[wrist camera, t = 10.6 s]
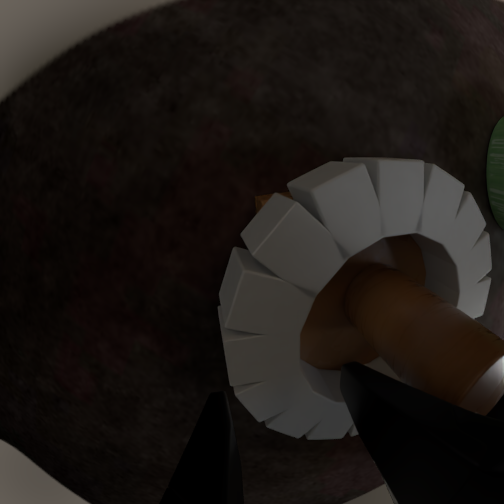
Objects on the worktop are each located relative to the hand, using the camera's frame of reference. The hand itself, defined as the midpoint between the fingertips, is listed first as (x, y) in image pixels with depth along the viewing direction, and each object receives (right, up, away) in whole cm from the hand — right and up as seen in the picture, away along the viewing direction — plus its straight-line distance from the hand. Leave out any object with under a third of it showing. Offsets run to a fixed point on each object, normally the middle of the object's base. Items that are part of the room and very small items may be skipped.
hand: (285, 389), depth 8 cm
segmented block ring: (+4, +2, +4) cm, 6 cm away
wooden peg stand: (+4, +2, +6) cm, 8 cm away
